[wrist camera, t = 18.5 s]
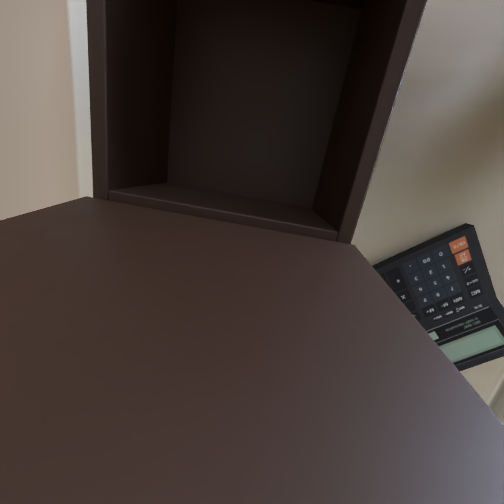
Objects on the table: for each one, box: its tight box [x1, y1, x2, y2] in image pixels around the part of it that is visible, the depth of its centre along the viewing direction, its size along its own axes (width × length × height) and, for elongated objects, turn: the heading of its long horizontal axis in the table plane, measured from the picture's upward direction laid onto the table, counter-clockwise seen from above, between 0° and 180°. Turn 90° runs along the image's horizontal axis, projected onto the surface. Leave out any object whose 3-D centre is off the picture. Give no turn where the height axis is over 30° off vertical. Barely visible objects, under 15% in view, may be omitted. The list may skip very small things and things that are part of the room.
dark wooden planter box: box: [86, 0, 427, 244], centre depth 15 cm, size 15×14×9 cm
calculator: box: [372, 223, 504, 371], centre depth 22 cm, size 9×12×3 cm
